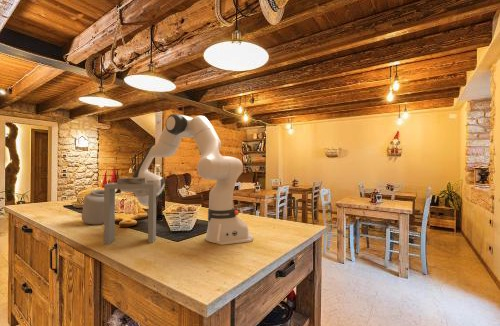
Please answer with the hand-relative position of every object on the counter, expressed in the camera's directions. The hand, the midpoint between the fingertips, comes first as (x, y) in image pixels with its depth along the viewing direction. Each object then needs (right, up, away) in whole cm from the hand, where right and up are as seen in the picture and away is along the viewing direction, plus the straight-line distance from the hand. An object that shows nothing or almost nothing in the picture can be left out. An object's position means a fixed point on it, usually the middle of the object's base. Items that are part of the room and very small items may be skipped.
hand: (136, 178), depth 121 cm
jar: (-32, -27, +23) cm, 48 cm away
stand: (+1, -28, -8) cm, 29 cm away
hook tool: (+1, -2, -4) cm, 4 cm away
